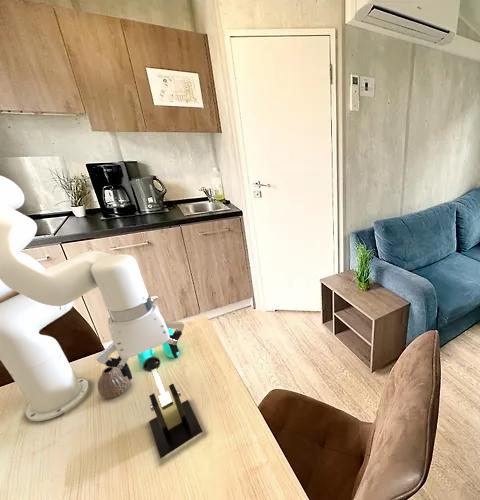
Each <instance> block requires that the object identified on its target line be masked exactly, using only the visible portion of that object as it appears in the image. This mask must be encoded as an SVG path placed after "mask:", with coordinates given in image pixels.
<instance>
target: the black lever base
mask: <svg viewBox="0 0 480 500" xmlns="http://www.w3.org/2000/svg"><path fill="white" fill-rule="evenodd" d="M168 388H169V390H170V391H169V392H170V395H171V397H172V400H173V402H175V405H176V408H177V410H178V413H179V415H180V418H181V421H182V422H181V423H180V424H178V425H176V426H175V427H173V428H171V429H170V430H168V428H167V425H166V423H165V420H164V417H163V414H162V412H161V406H160V403H159V401H158V398H157V397H156V394H155V393H152V394H150V395H148V397H149V400H150V402H151V404H150V405H149V408H150V410H151V412H153V411H154V413H155V416H156V417H154V418H152V419H151V420H150V419H149V421H148V424H149V426H150V429H151V433H152V436H153V439H154V442H155V445H156V449H157V452H158V455H159V459H160V460H161V459H163V458H164V457H166V456H168V455H169V454H170V453H172V452H174V451H175V450H177V449H178V448H180V447H181V446H183V445H184V444H186V443H188V442H189V441H191V440H192V439H194V438H195V437H196V436H198V435H200V434H201V433H203V429H202V427H201V424H200V423H199V421H198V418H197V417H196V414H195V412H194V410H193V408H192V406H191V404H190V401H189V399H186V400H184V401H181V398H180V397H181V396H182V395H181V392H180V390H178V389H177V388H176V386H175V384H174V383H171V384H169V385H168Z"/></svg>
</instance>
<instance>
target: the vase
mask: <svg viewBox="0 0 480 500" xmlns="http://www.w3.org/2000/svg"><path fill="white" fill-rule="evenodd" d="M96 387H97V391H98V393H99V395H100V396H101V397H102V398H105V399H108V400H112V399H115V398H118V397H120V396H122V395H123V394H125V393H126V392H128V390H129V389H130V387H131V380H129V379H128V377H127V376H125V377H123V375H122V373H121V370H120V369H117V368H116V367H108V366H106V367H105V368H104V369H103V370H102V372H101V375H100V377H99V379H98V380H97V386H96Z"/></svg>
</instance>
